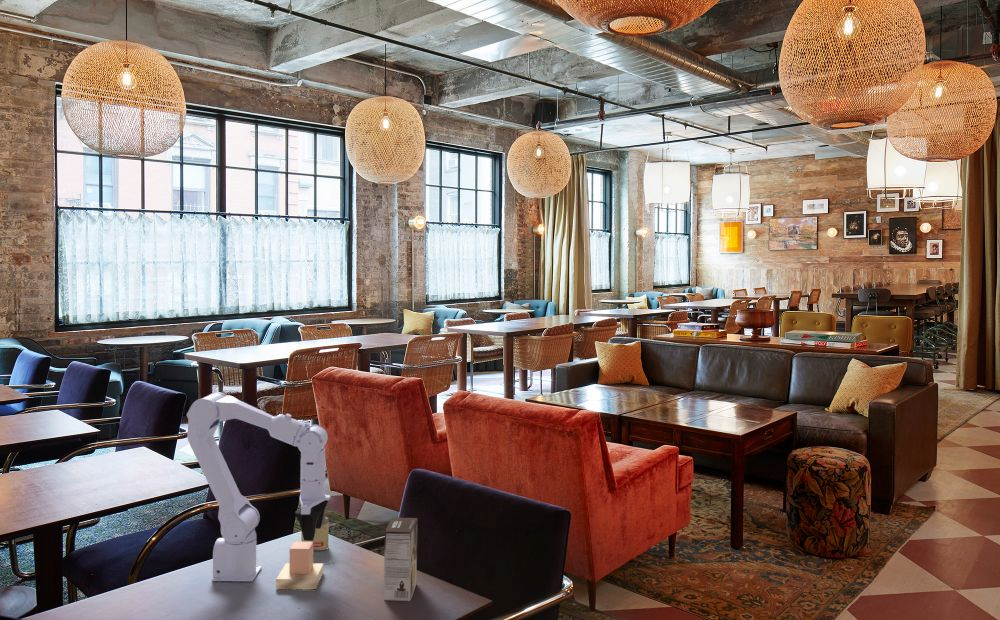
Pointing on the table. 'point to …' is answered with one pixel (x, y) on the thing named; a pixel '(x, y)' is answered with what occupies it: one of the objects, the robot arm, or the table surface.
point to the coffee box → (400, 559)
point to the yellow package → (320, 536)
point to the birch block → (299, 578)
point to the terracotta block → (301, 558)
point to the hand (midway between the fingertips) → (312, 534)
